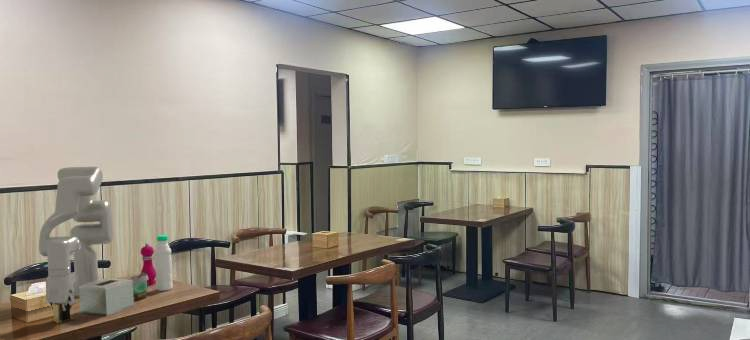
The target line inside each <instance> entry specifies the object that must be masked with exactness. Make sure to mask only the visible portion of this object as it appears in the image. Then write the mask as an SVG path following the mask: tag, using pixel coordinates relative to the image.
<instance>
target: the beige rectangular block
mask: <svg viewBox="0 0 750 340" xmlns="http://www.w3.org/2000/svg"><path fill="white" fill-rule="evenodd" d="M65 305H67V303H66V304H65ZM52 310H54V312H53V322H56V323H57V324H60V323H64V322H67V321H70V320H71V318H70V319H69V320H66V321H62V311H63V308H62V304H61V303H56V304H53V309H52ZM56 323H55V324H56Z"/></svg>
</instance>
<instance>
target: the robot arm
mask: <svg viewBox="0 0 750 340" xmlns="http://www.w3.org/2000/svg"><path fill="white" fill-rule="evenodd" d="M103 176H104V175H103V171H102V169H101V168H100V167H98V166H73V167H72V166H69V167H62V168H60V169H59V170H58V171H57V178H58V182H57V189H56V199H55V210H54V212H53V213H52V214H51V215H50V216H49V217H48V218H47V219H46V220H45V222H44V223H43V225H42V226H41V229H40V231H39V239H38V251H39V254H40V255H41V256H42V257H47V268H48V269H47V272H48V273H47V274H48V275H47V276H46V277H47V278H46V282H45V286H46V287H45V299H46V302H48V303H49V304H50V306H51V309H52V310H53V304H56V303H61V304H62V308H63V311H62V321H64V322H67V321H70V320H71V309H72V306H74V305H75V304H76V303H77V302H76V299H75V297H77V298H80V295H79V286H80V285H83V284H87V283H90V282H94V281H97V280H99V265H98V254H97V251H96V250H95V248H93V246H94V245H95V246H96V245H106V244H110V243H111V242H113V240H114V227H113V218H112V217H113V215H112V208H111V204H110V203H109V202H108V201H106V200H102V199H101V200H100V199H99V200H93V199H92V197H93V196H95V195H96V194H97V193H98V191H99V189H100V186H101V184H102V182H103ZM72 219H73V221H74V222H76V223H82V224H76V225H74V226H72V228H70V232H69V235H68V236H67V235H66V236H51V233H52V231H53V230H54V229H56V227H57V226H59V225H61V224H63V223H65V222H67V221H69V220H72ZM94 222H95V223H94ZM71 256H73V266H74V267H73V268H74V270H73V271H74V281H73V276H72V272H71V271H72V269H71V268H72V267H71ZM66 303H67V305H65V304H66ZM53 313H54V310H53ZM69 319H70V320H69ZM66 320H67V321H66Z"/></svg>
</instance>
